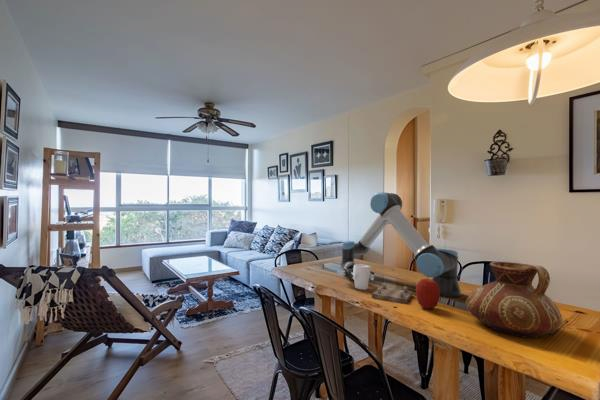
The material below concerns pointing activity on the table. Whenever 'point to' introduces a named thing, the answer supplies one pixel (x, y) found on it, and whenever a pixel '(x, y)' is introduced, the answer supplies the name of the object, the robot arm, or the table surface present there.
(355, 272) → the cup
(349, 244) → the robot arm
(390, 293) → the peg stand
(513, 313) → the jug
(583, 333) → the table surface
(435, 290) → the apple
